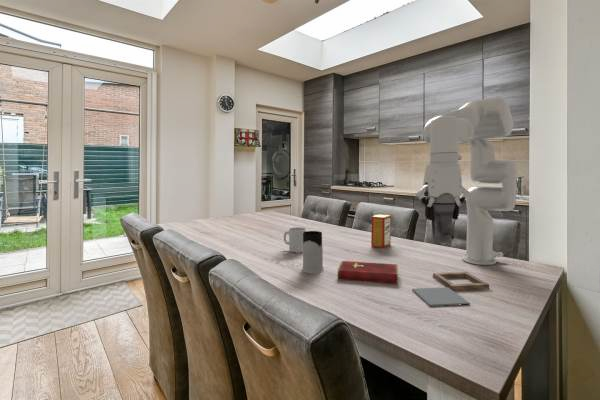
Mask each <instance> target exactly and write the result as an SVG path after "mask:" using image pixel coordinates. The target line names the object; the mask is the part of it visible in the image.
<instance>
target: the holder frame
mask: <svg viewBox="0 0 600 400" xmlns="http://www.w3.org/2000/svg"><path fill="white" fill-rule="evenodd" d="M432 278H433V279H435V280H436V281H438V282H439V283H441V284H442V285H443V286H444V287H448V288H450V289H451V290H452V291H469V290H470V291H471V290H473V289H474V290H475V289H476V290H490V283H487V282H485V281H484V280H482V279H481V278H479V277H477V276H475V275H473V274H471V273H469V272H467V271H457V272H455V271H453V272H433V275H432ZM454 278H455V279H458V278H459V279H460V278H461V279H463V278H465V279H467V280H468V281H470V282H472V283H453V282H451V281H450V279H454Z"/></svg>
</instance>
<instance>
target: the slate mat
mask: <svg viewBox="0 0 600 400" xmlns="http://www.w3.org/2000/svg"><path fill="white" fill-rule="evenodd" d="M411 290H412V292H413V293H414V294H416V295H417V297H419V298H420V299H421V300H422V301H423V302H424V303H425V304H426V303H427V304H426V305H427V306H429V307H430V306H432V307H446V306H445V305H455V306H460V305H459V304H470V305H471V303H470V301H468V300H467V299H465V298H464V297H463V296H461V295H460V294H458V293H457V292H456V291H455V290H451V289H450V288H448V287H446V286H444V287H443V286H442V287H421V288H418V287H417V288H412V289H411Z"/></svg>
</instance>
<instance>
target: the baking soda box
mask: <svg viewBox="0 0 600 400" xmlns="http://www.w3.org/2000/svg"><path fill="white" fill-rule="evenodd" d="M391 225H392V215H391V214H380V213H378V214H374V215H373V216H371V239H370V240H371V242H370V243H371V246H370V247H372V248H377V249H385V248H386V249H387V248H388V247H389V246H391V242H392V241H391V238H392V237H391V235H392V232H391V230H392V226H391Z"/></svg>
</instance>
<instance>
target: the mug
mask: <svg viewBox="0 0 600 400" xmlns="http://www.w3.org/2000/svg"><path fill="white" fill-rule="evenodd" d="M306 231H307V228H306V227H298V226H297V227H296V226H295V227H290V228H288V230H286V231H284V233H283V242H284V244H286V245H288V246H289V247H288V249H289V252H290V251H291V252H290V253H292V252H296V253H295V254H301V253H300V252H303V232H306ZM287 235H288V241H287Z"/></svg>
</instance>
